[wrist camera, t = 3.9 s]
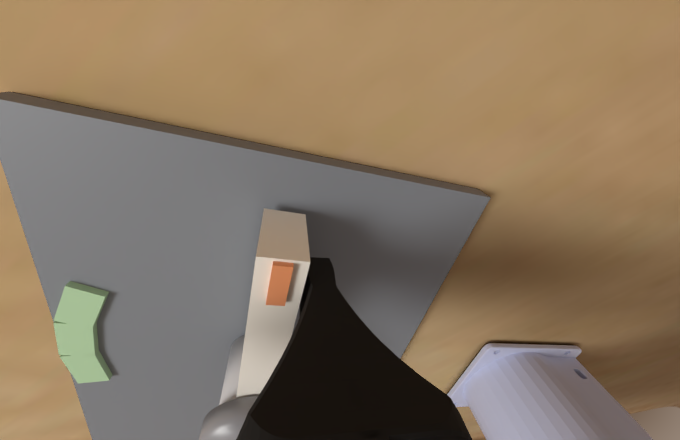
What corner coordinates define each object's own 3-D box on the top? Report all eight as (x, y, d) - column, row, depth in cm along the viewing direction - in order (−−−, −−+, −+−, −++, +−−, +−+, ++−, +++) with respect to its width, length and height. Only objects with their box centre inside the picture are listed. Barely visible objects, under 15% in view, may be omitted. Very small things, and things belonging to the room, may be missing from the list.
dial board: (477, 188, 13) (494, 200, 12) (354, 422, 23) (357, 440, 22) (9, 91, 9) (-32, 96, 8) (105, 435, 19) (94, 459, 18)
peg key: (289, 371, 16) (289, 465, 13) (218, 371, 15) (195, 474, 12) (333, 214, 11) (355, 291, 8) (232, 198, 10) (199, 279, 7)
